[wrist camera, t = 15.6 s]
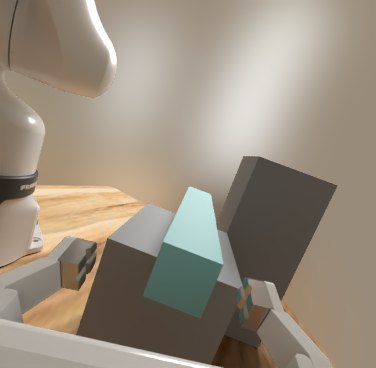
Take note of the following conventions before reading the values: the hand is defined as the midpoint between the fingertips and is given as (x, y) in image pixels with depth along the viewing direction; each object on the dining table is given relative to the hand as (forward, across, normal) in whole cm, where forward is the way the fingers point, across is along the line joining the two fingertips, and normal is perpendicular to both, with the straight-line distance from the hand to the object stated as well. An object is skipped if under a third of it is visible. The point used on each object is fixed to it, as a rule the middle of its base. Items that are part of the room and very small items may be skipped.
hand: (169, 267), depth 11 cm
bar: (+12, -2, +8) cm, 14 cm away
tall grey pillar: (+13, -5, +26) cm, 29 cm away
